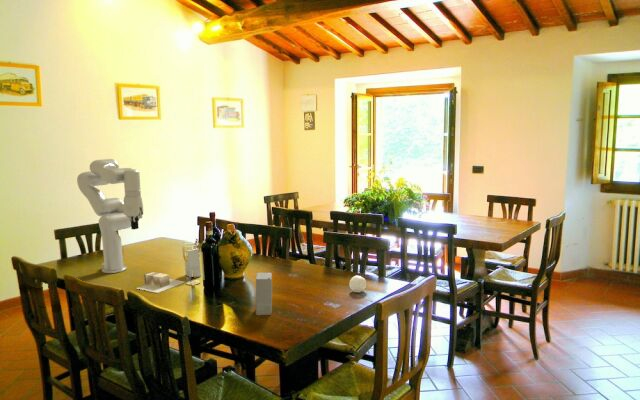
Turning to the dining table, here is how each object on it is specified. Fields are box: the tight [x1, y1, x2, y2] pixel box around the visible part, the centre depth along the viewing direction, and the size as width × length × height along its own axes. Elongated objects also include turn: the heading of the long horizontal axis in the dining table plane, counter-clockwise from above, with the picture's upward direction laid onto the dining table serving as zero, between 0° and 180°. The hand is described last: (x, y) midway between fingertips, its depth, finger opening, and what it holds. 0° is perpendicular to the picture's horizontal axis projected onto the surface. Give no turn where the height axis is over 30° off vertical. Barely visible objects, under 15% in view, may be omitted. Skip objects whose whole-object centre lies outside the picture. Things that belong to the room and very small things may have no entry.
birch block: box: [143, 271, 171, 287], centre depth 235 cm, size 5×5×12 cm
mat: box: [135, 278, 186, 294], centre depth 234 cm, size 15×18×1 cm
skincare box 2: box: [255, 272, 273, 316], centre depth 196 cm, size 8×7×16 cm
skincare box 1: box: [183, 247, 202, 278], centre depth 248 cm, size 8×6×15 cm
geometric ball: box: [348, 275, 367, 294], centre depth 218 cm, size 8×8×8 cm
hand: (134, 228), depth 244 cm, fingers closed
